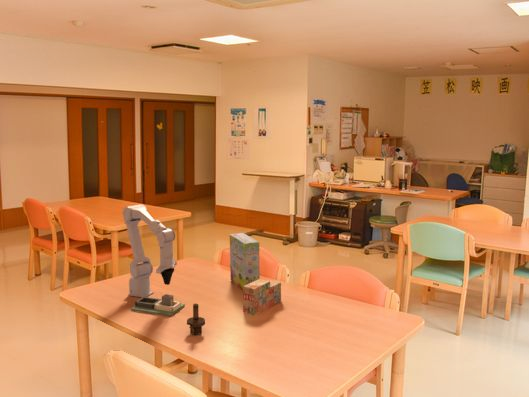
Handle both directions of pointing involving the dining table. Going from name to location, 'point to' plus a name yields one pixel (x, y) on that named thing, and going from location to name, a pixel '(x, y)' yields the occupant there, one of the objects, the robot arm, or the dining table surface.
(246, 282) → the snack box
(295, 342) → the dining table surface
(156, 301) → the board
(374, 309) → the dining table surface
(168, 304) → the plug
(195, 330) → the industrial component
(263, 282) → the stack of blocks
